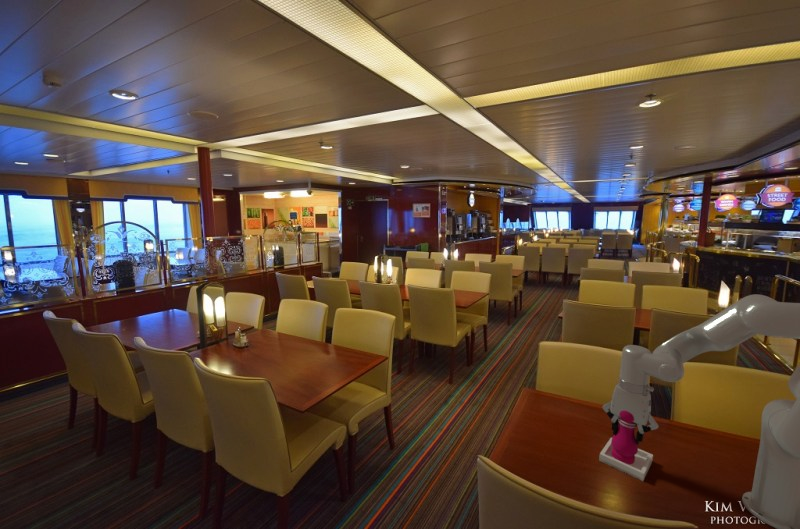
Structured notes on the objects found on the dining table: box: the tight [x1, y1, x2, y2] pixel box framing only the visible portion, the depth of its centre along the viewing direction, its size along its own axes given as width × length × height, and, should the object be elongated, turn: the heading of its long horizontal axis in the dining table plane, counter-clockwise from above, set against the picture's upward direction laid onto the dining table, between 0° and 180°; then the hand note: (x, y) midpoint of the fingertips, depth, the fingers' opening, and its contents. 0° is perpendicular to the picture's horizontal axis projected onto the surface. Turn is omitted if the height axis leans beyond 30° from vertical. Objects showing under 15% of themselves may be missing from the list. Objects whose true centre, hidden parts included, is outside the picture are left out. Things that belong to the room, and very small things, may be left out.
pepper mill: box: [611, 411, 639, 464], centre depth 110 cm, size 7×7×20 cm
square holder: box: [598, 436, 654, 482], centre depth 111 cm, size 12×12×2 cm
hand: (626, 437), depth 111 cm, fingers open, 5 cm apart
